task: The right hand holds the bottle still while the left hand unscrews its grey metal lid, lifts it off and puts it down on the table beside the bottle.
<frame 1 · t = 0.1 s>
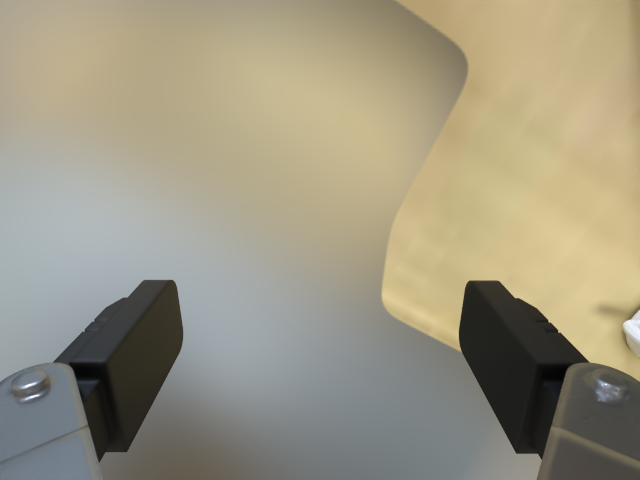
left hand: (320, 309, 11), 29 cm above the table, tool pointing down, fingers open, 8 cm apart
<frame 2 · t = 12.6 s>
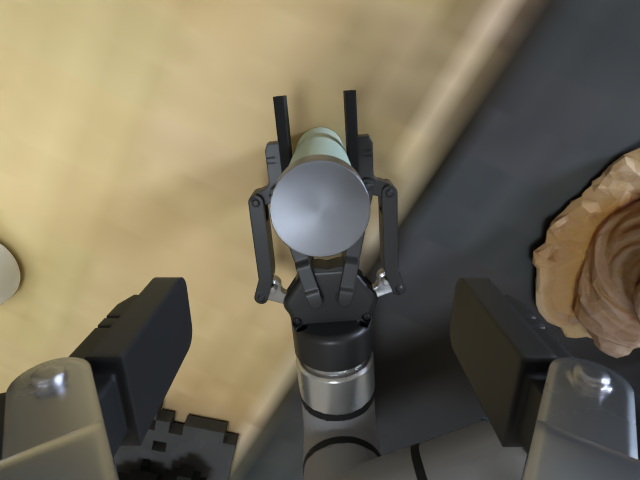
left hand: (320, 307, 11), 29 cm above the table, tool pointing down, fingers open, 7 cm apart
right hand: (314, 94, 30), fingers closed on bottle, 5 cm apart
bottle: (320, 151, 38), on the table, touching right hand
lid: (320, 208, 20), point 19 cm above the table, screwed on, not yet turned
abstract sculpture: (152, 469, 53), on the table
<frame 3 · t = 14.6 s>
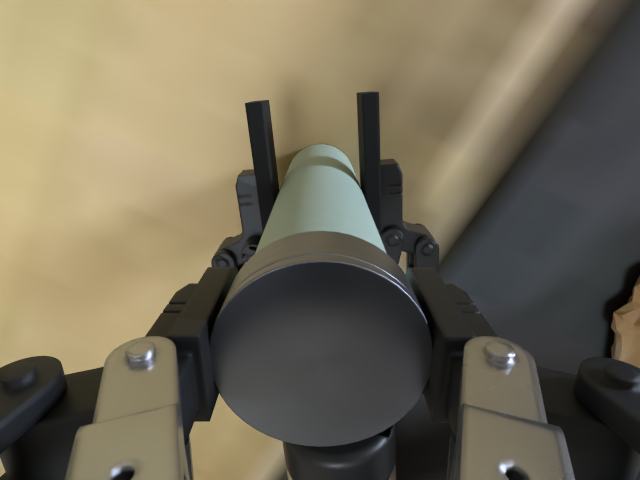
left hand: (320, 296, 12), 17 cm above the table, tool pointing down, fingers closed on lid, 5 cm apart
bottle: (320, 177, 27), on the table, touching right hand
lid: (321, 353, 9), point 19 cm above the table, screwed on, not yet turned, touching left hand
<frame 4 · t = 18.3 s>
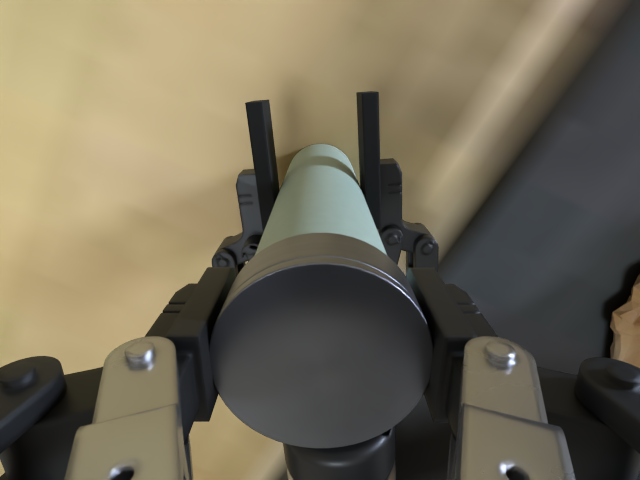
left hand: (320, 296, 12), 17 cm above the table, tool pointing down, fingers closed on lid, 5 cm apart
bottle: (320, 177, 27), on the table, touching right hand
lid: (321, 355, 9), point 19 cm above the table, turned 80° so far, risen 0.1 cm, still on its thread, touching left hand
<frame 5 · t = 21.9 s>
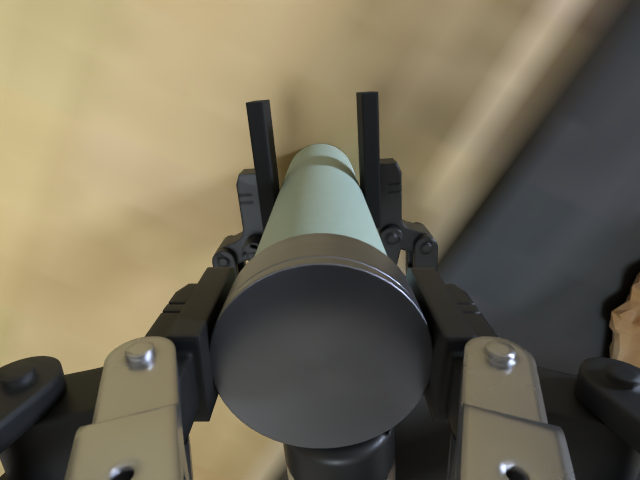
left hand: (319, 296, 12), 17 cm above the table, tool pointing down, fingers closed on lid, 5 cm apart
bottle: (320, 177, 27), on the table, touching right hand
lid: (321, 355, 9), point 20 cm above the table, turned 161° so far, risen 0.2 cm, still on its thread, touching left hand
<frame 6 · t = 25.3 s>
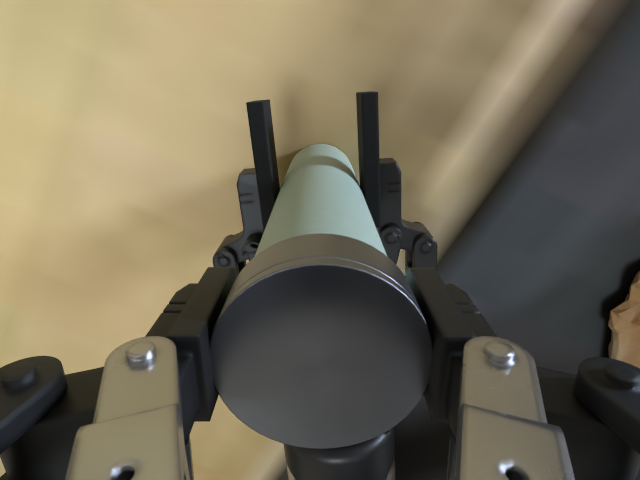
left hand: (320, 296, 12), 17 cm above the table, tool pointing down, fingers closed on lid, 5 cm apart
bottle: (320, 176, 28), on the table, touching right hand
lid: (321, 356, 9), point 20 cm above the table, turned 241° so far, risen 0.3 cm, still on its thread, touching left hand
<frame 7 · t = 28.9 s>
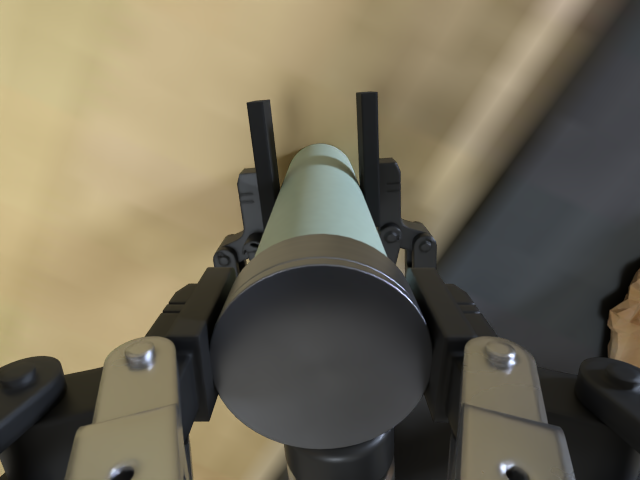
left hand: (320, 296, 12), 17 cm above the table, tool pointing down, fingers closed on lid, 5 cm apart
bottle: (320, 176, 28), on the table, touching right hand
lid: (321, 356, 9), point 20 cm above the table, turned 322° so far, risen 0.4 cm, still on its thread, touching left hand
when the left hand's fingers open (0 cm above the table, at t = 38.9 s): lid drops 2 cm, point 1 cm above the table.
when the right hand's fingers open (7 cm above the table, at t = 39.8 s): bottle stays where it is, on the table.
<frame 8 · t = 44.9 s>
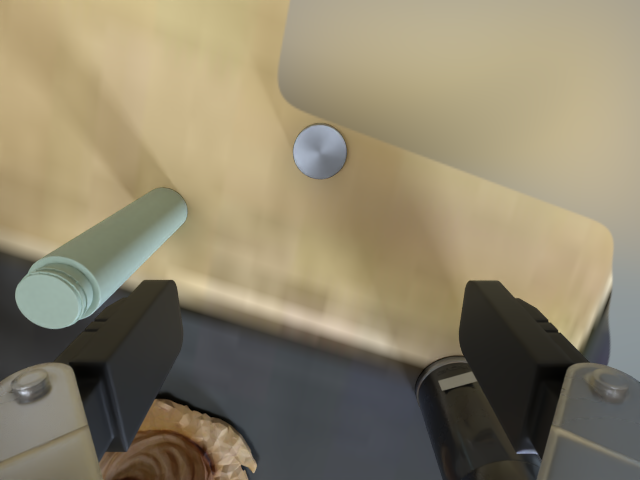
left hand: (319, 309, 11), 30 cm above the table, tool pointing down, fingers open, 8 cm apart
bottle: (165, 208, 41), on the table
lid: (319, 152, 38), point 1 cm above the table, off its thread
sculpture: (169, 470, 55), on the table
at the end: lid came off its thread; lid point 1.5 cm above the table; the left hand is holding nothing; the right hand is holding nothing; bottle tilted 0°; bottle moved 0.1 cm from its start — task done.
